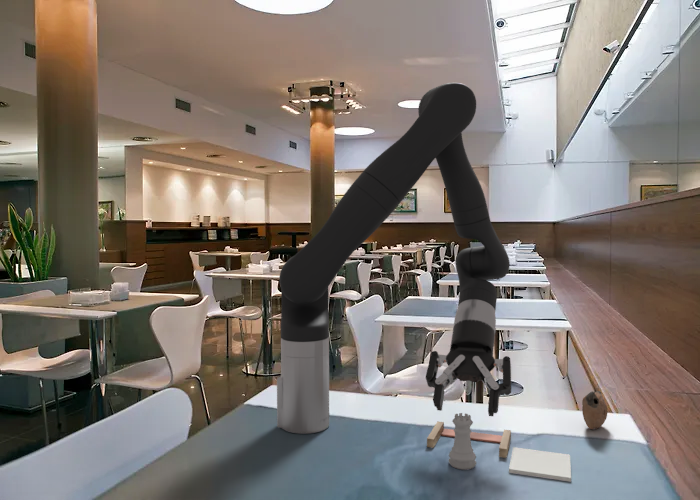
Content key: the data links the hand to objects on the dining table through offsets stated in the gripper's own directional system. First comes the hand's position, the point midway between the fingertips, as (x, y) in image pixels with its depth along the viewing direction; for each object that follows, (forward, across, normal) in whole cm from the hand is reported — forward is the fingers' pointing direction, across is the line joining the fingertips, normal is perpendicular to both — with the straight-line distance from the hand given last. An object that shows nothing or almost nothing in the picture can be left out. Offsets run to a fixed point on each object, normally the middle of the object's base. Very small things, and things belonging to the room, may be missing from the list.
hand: (464, 411), depth 91 cm
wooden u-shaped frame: (+1, 0, +10) cm, 10 cm away
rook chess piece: (+8, 0, +4) cm, 8 cm away
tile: (+5, +12, +6) cm, 14 cm away
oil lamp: (-9, +21, +21) cm, 31 cm away
